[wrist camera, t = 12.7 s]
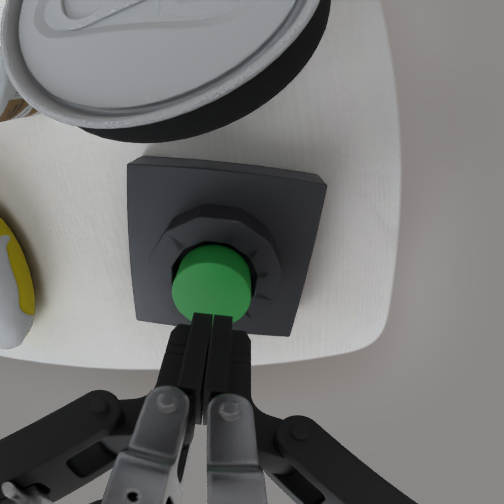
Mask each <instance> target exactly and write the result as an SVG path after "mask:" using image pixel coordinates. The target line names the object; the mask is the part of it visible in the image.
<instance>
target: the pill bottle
mask: <svg viewBox="0 0 504 504" xmlns="http://www.w3.org/2000/svg"><path fill="white" fill-rule="evenodd" d="M38 113H40V112H39V111H37V110H36V109H35V108H33V107H32V106H30V105H29V104H28V103H27V102H26V101H25V100H24V99H23V98H22V97H21V96H20V95H19V93H18V92H17V90H16V89H15V87H14V86H13V84H12V83H11V81H10V79H9V76H8V74H7V72H6V69H5V66H4V62H3V58H2V53H1V47H0V122H3V121H7V120H12V119H16V118H21V117H27V116H32V115H36V114H38Z"/></svg>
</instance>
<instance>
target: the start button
mask: <svg viewBox="0 0 504 504" xmlns="http://www.w3.org/2000/svg"><path fill="white" fill-rule="evenodd" d="M172 297H173V301H174V303H175V305H176V307H177V309H178V310H179V311H180V312H181V313H182V314H183V315H184V316H185V317H186V318H188V319H189V320H191V321H192V318H193V314H194V312H198V313H206V314H213V319H214V314H215V315H224V316H233V322H232V323H234V322H235V321H237V320H239V319H240V318H241V317H242V316H243V315H244V314H245V313H246V311H247V310H248V308H249V306H250V302H251V274H250V269H249V267H248V264H247V263H246V261H245V260H244V259H243V257H242V256H241V255H240V254H238V253H237V252H236V251H234V250H232V249H230V248H228V247H225V246H221V245H204V246H200V247H197V248H195V249H193V250H192V251H190V252H189V253H188V254H187V255H186V256H185V257H184V258H183V260H182V261H181V264H180V266H179V269H178V272H177V274H176V277H175V280H174V282H173V286H172ZM212 326H213V322H212Z"/></svg>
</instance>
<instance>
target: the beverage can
mask: <svg viewBox="0 0 504 504" xmlns="http://www.w3.org/2000/svg"><path fill="white" fill-rule="evenodd" d="M330 5H331V0H6V3H5V6H4V10H3V15H2V21H1V31H0V42H1V53H2V58H3V62H4V66H5V69H6V72H7V74H8V76H9V79H10V81H11V83H12V84H13V86H14V87H15V89H16V90H17V92H18V93H19V95H20V96H21V97H22V98H23V99H24V100H25V101H26V102H27V103H28V104H29V105H30V106H32V107H33V108H35V109H36V110H37V111H39V112H40V113H42V114H44V115H46V116H48V117H50V118H52V119H54V120H56V121H59V122H63V123H66V124H69V125H72V126H77V127H79V128H81V129H83V130H84V131H86V132H89V133H91V134H94V135H97V136H100V137H102V138H106V139H111V140H116V141H122V142H131V143H162V142H169V141H176V140H181V139H186V138H190V137H194V136H198V135H201V134H204V133H207V132H210V131H213V130H216V129H218V128H221V127H223V126H226V125H228V124H230V123H232V122H234V121H236V120H238V119H240V118H242V117H244V116H246V115H248V114H249V113H251V112H253V111H254V110H256V109H257V108H259V107H260V106H262V105H263V104H265V103H266V102H268V101H269V100H270V99H272V98H273V97H274V96H275V95H277V94H278V93H279V92H280V91H281V90H283V89H284V88H285V87H286V86H287V85H288V84H289V83H290V82H291V81H292V80H293V79H294V78H295V77H296V76H297V75H298V73H299V72H300V71H301V70H302V69H303V67H304V66H305V65H306V64H307V62H308V61H309V59H310V58H311V57H312V55H313V53H314V51H315V50H316V48H317V46H318V44H319V42H320V40H321V38H322V36H323V33H324V31H325V29H326V25H327V21H328V17H329V12H330Z"/></svg>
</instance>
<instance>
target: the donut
mask: <svg viewBox="0 0 504 504" xmlns="http://www.w3.org/2000/svg"><path fill="white" fill-rule="evenodd" d="M34 313H35V296H34V288H33V283H32V279H31V275H30V270H29V268H28V265H27V262H26V259H25V256H24V254H23V251H22V249H21V247H20V245H19V243H18V241H17V239H16V238H15V236H14V234H13V233H12V231H11V230H10V228H9V227H8V226H7V224H6V223H5V222H4V221H3V219H2V218H1V217H0V348H1V349H11V348H14V347H17V346H19V345H20V344H21V343H22V341H23V340H24V338H25V336H26V335H27V334H28V332H29V331H30V329H31V327H32V324H33V320H34Z"/></svg>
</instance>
